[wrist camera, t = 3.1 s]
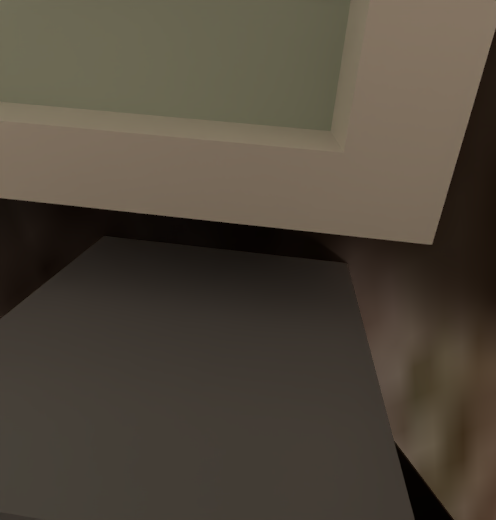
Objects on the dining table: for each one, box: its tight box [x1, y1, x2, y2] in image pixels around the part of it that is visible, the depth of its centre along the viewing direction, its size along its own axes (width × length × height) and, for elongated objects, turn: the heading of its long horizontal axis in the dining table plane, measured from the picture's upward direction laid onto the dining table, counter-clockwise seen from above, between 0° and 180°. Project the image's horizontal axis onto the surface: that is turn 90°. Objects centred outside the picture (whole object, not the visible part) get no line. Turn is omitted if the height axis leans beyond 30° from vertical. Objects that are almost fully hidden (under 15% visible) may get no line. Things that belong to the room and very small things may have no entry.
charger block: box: [0, 236, 415, 520], centre depth 7 cm, size 5×5×6 cm
